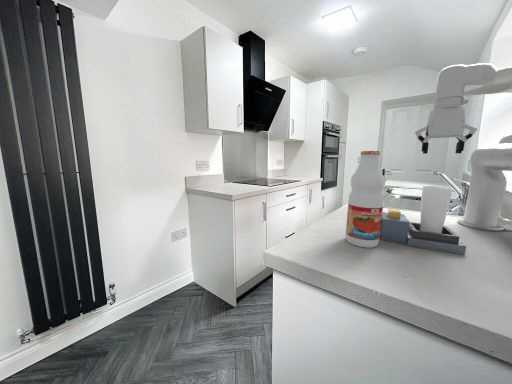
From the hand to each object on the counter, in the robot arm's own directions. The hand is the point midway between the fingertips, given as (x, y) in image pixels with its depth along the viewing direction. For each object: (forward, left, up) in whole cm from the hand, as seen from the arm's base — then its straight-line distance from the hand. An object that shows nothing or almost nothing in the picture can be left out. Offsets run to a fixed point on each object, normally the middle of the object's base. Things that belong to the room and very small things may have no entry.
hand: (441, 153), depth 78 cm
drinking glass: (+5, +21, -26) cm, 33 cm away
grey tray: (+10, +21, -28) cm, 36 cm away
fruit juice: (+24, +31, -28) cm, 48 cm away
